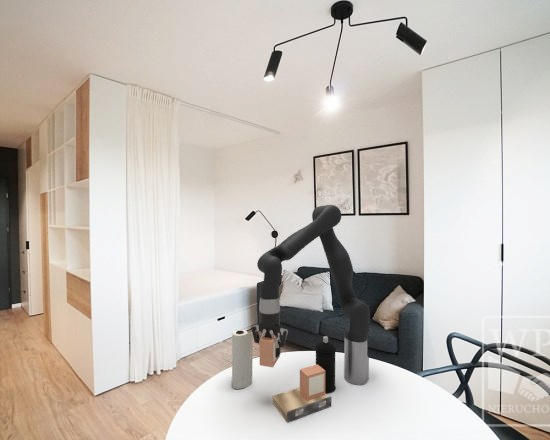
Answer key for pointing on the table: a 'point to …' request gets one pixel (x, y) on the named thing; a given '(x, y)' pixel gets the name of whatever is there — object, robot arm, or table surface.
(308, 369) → the carton faced
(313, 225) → the robot arm
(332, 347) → the aerosol can
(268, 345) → the carton
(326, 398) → the tan flat block
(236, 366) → the paper towel roll
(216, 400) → the table surface
